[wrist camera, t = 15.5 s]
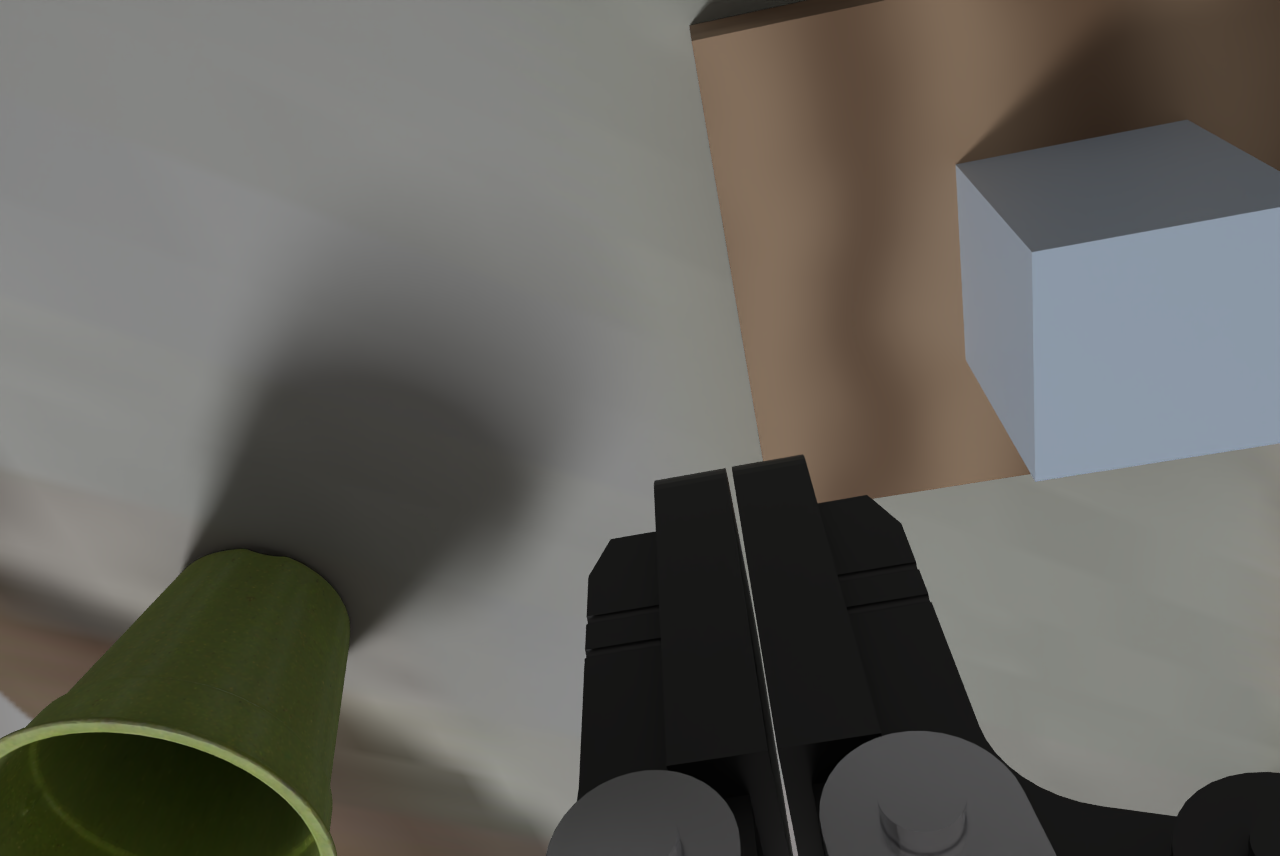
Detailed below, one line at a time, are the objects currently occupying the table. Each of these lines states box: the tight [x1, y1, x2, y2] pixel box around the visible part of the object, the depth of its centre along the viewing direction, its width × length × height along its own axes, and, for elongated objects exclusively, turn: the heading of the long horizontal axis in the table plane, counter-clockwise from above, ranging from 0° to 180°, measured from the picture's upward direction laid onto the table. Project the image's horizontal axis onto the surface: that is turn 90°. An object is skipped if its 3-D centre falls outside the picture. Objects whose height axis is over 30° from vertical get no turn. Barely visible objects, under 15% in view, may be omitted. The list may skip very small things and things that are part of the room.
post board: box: [689, 0, 1280, 503], centre depth 30 cm, size 20×16×8 cm
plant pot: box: [0, 549, 350, 856], centre depth 37 cm, size 12×12×11 cm
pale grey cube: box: [956, 120, 1280, 482], centre depth 28 cm, size 6×6×7 cm
